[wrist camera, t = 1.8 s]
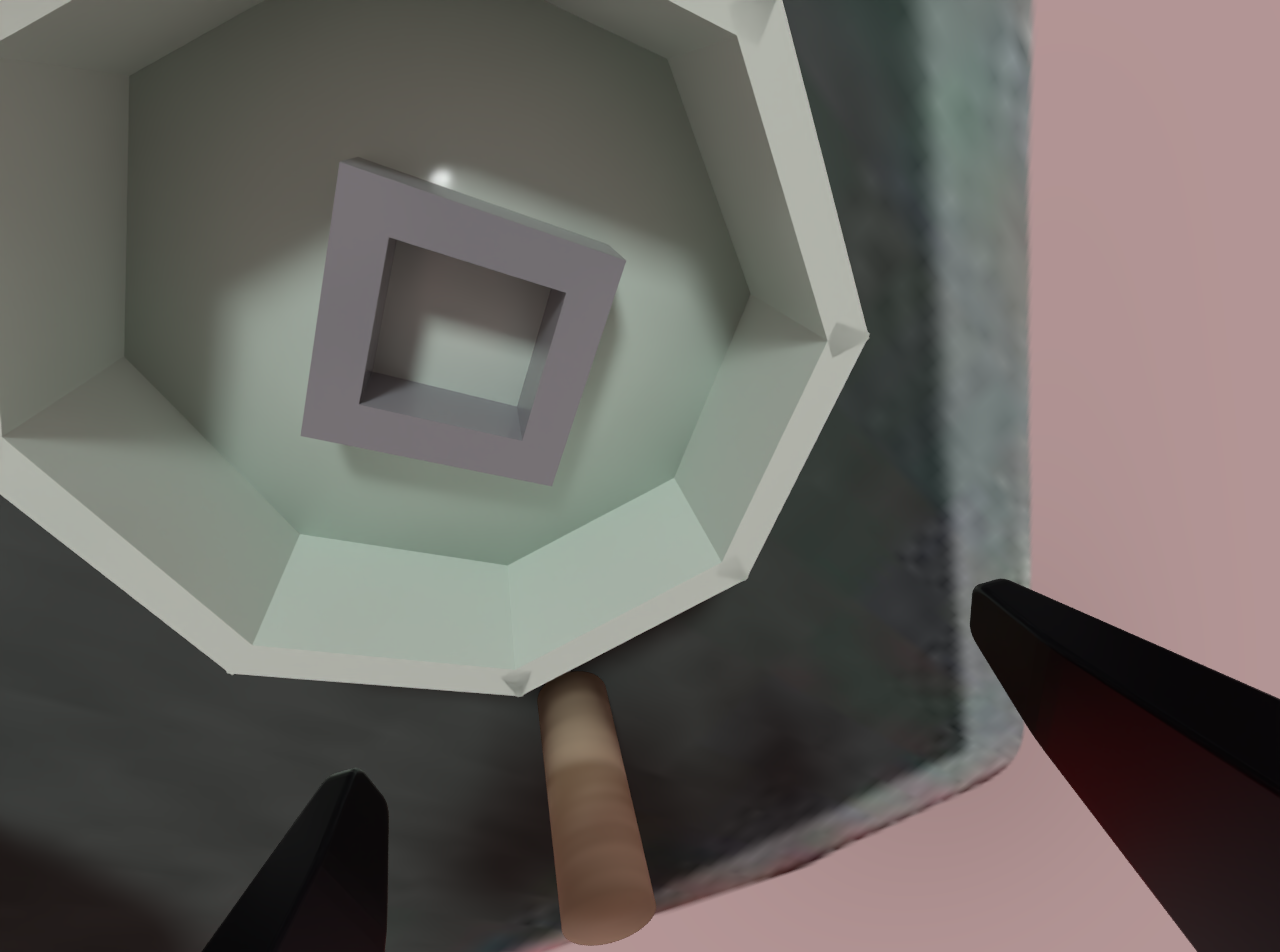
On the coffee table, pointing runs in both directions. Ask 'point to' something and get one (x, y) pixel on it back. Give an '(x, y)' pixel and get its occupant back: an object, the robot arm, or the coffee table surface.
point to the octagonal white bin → (413, 318)
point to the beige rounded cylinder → (591, 815)
